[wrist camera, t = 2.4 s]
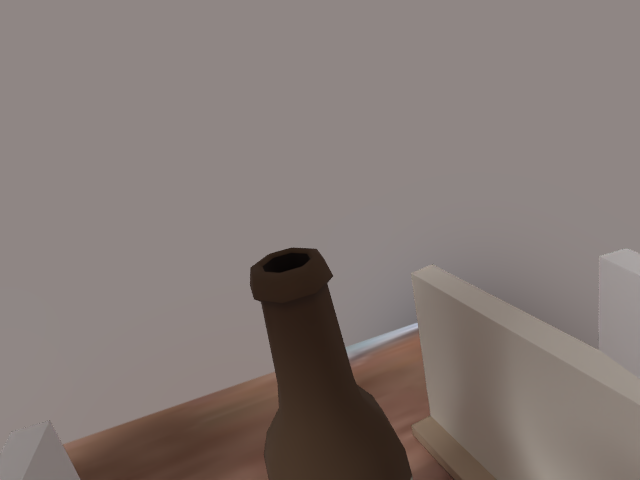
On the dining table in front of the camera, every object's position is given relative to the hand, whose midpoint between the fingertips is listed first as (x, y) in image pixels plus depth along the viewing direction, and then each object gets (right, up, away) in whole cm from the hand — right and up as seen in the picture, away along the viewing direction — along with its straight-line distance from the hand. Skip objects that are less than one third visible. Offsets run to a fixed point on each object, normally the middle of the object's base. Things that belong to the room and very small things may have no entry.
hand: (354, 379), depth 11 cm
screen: (+14, -15, +23) cm, 31 cm away
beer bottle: (+2, -20, +19) cm, 27 cm away
